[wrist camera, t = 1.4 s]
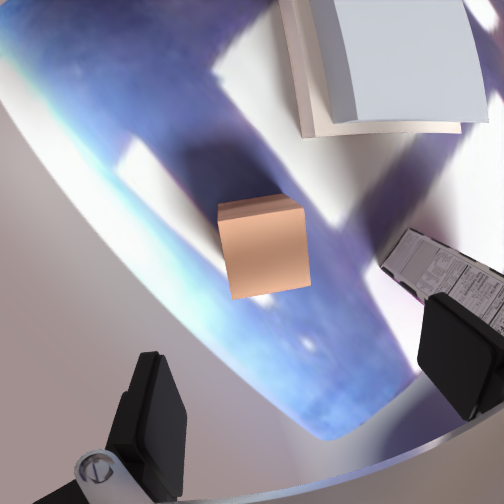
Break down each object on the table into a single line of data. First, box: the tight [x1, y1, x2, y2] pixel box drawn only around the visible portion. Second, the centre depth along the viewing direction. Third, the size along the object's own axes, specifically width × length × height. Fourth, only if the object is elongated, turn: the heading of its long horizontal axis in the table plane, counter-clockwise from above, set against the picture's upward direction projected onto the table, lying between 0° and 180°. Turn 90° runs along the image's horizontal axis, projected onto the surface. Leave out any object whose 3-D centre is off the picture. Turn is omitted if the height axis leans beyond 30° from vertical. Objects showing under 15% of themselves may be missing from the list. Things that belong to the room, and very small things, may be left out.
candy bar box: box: [380, 228, 504, 336], centre depth 20 cm, size 11×5×16 cm, turn 56°
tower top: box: [309, 0, 489, 124], centre depth 15 cm, size 11×11×4 cm
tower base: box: [278, 0, 461, 138], centre depth 19 cm, size 13×13×4 cm
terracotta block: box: [218, 193, 311, 300], centre depth 22 cm, size 5×5×6 cm
